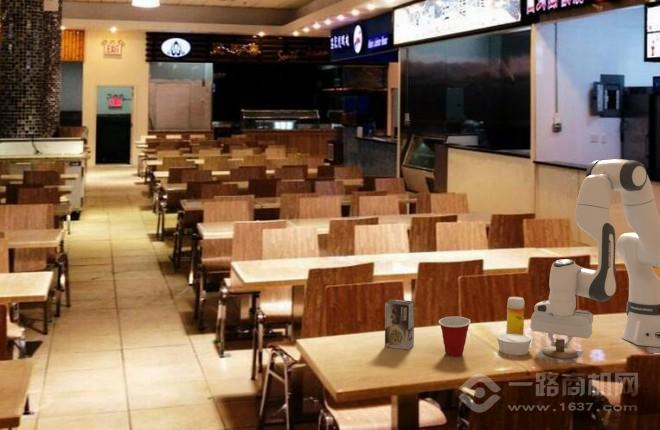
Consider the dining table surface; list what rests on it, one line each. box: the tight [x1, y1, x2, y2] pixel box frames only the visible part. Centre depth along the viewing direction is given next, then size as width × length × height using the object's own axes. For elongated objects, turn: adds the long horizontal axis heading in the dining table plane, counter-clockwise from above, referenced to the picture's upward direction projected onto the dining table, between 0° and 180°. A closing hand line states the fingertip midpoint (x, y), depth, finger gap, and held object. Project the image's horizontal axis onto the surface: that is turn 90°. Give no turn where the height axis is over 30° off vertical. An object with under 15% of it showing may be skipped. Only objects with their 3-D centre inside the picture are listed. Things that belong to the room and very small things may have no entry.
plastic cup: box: [438, 316, 471, 357], centre depth 262 cm, size 11×11×12 cm
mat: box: [535, 345, 584, 363], centre depth 262 cm, size 13×13×1 cm
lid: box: [541, 337, 578, 360], centre depth 262 cm, size 12×12×5 cm
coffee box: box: [384, 298, 415, 350], centre depth 270 cm, size 9×6×16 cm
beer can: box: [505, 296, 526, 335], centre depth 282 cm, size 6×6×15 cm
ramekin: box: [497, 333, 532, 356], centre depth 265 cm, size 11×11×5 cm
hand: (560, 346), depth 262 cm, fingers closed on lid, 3 cm apart
